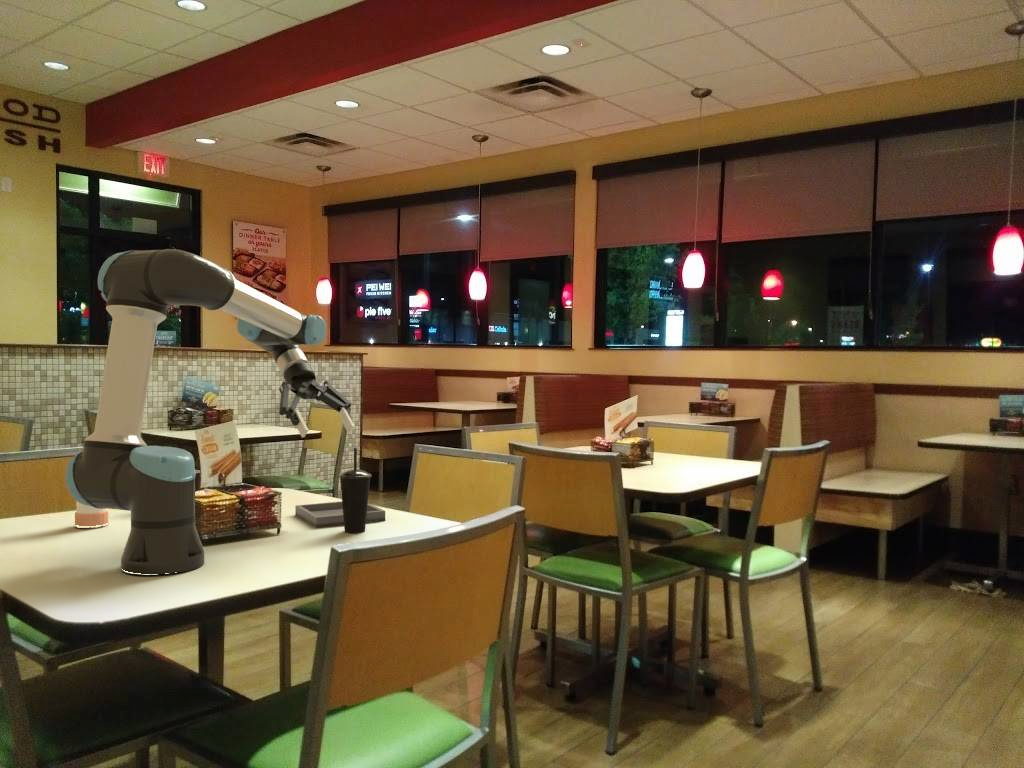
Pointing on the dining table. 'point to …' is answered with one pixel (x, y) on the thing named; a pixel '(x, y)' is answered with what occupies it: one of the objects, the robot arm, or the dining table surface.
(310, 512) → the serving tray
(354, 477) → the drinking cup
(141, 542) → the robot arm
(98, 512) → the pepper shaker
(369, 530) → the dining table surface
